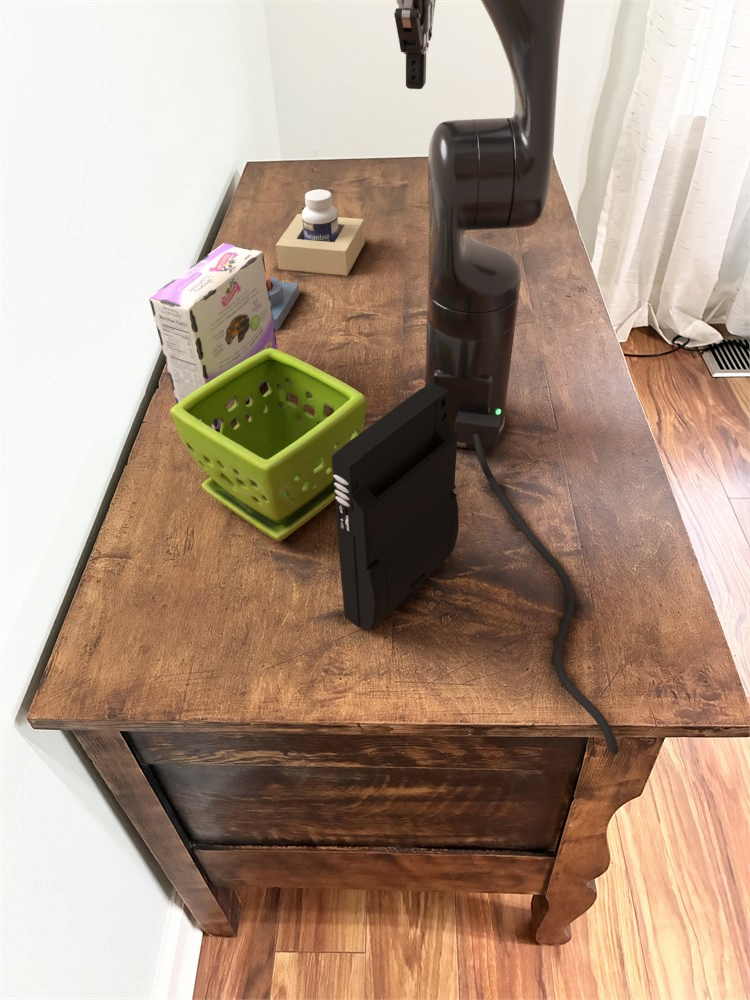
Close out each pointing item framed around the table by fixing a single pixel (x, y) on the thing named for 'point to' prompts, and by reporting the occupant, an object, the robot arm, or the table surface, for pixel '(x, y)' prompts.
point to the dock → (321, 248)
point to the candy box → (214, 318)
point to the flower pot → (270, 438)
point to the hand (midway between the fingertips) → (415, 87)
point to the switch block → (282, 299)
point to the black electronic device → (395, 505)
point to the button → (268, 281)
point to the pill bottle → (320, 217)
